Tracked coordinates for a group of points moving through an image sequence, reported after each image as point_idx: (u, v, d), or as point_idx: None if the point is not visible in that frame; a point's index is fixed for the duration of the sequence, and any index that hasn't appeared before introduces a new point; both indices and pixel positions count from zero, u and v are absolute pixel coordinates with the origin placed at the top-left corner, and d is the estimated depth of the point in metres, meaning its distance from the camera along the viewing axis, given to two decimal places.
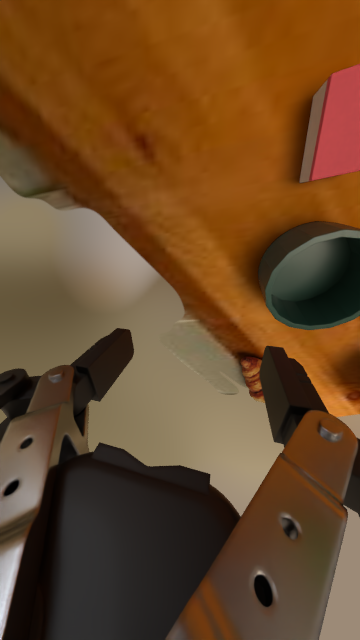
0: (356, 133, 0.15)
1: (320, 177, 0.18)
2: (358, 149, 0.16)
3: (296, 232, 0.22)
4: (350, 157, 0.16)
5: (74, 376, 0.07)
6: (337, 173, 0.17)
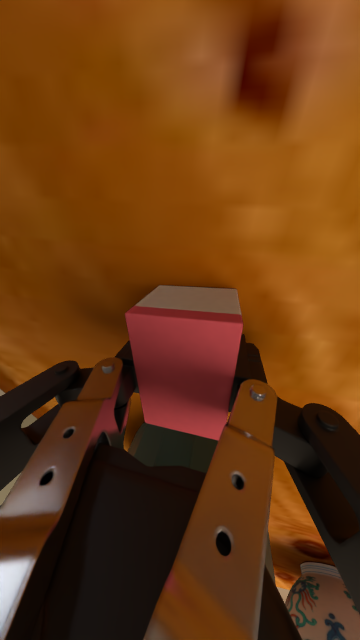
0: (196, 400, 0.08)
1: (157, 424, 0.10)
2: (205, 418, 0.08)
3: (156, 447, 0.13)
4: (195, 422, 0.09)
5: (124, 368, 0.07)
6: (182, 430, 0.09)
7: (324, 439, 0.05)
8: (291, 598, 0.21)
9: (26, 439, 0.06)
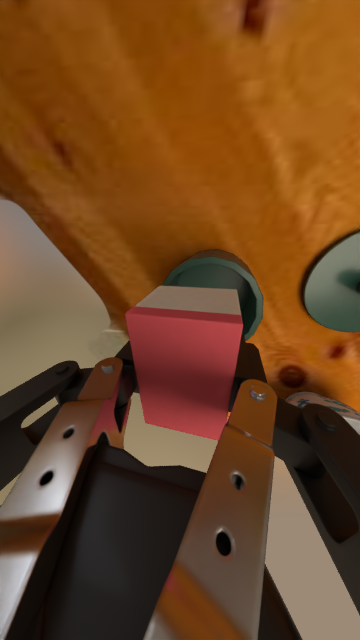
0: (196, 400, 0.08)
1: (157, 425, 0.10)
2: (205, 418, 0.08)
3: (193, 255, 0.22)
4: (195, 422, 0.09)
5: (123, 368, 0.07)
6: (182, 430, 0.09)
7: (324, 439, 0.05)
8: None
9: (26, 439, 0.06)
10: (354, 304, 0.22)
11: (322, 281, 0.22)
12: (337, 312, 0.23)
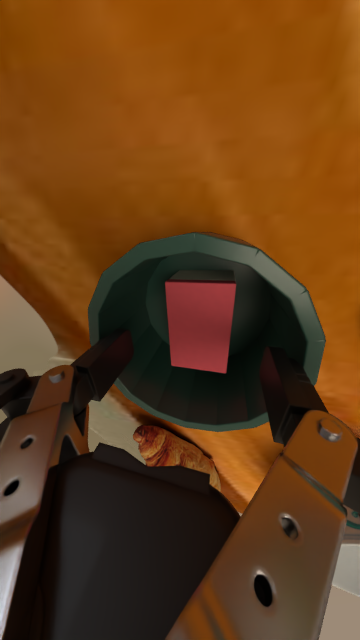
0: (208, 341, 0.12)
1: (180, 366, 0.14)
2: (214, 355, 0.13)
3: None
4: (207, 359, 0.13)
5: (74, 376, 0.07)
6: (197, 368, 0.13)
7: None
8: None
9: None
10: None
11: None
12: None
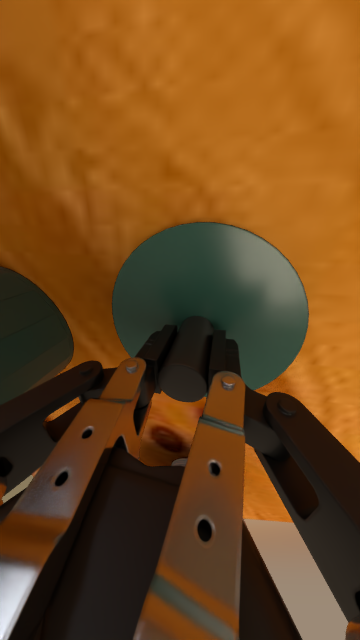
0: None
1: None
2: None
3: None
4: None
5: (147, 368, 0.07)
6: None
7: (281, 423, 0.05)
8: None
9: (47, 436, 0.06)
10: None
11: (132, 321, 0.13)
12: None
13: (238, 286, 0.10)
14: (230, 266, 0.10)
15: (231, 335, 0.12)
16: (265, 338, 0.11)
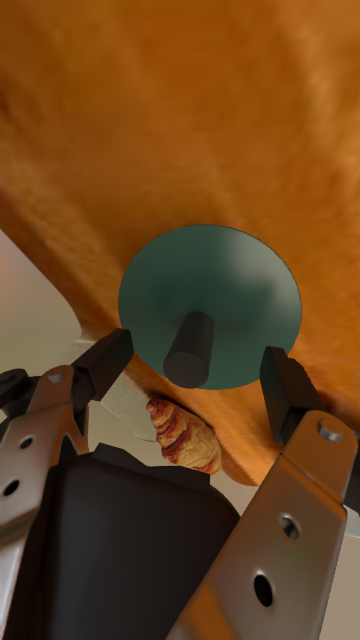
0: None
1: None
2: None
3: None
4: None
5: (74, 376, 0.07)
6: None
7: None
8: None
9: None
10: None
11: (137, 317, 0.14)
12: None
13: (236, 283, 0.11)
14: (229, 265, 0.10)
15: (230, 329, 0.12)
16: (262, 332, 0.12)
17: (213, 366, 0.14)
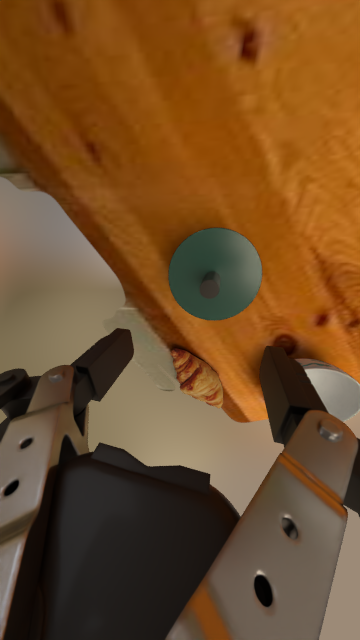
0: None
1: None
2: None
3: None
4: None
5: (74, 376, 0.07)
6: None
7: None
8: None
9: None
10: None
11: (178, 276, 0.26)
12: (198, 303, 0.27)
13: (231, 255, 0.23)
14: (227, 246, 0.22)
15: (228, 280, 0.24)
16: (244, 281, 0.24)
17: (219, 304, 0.26)
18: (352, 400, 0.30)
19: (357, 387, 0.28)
